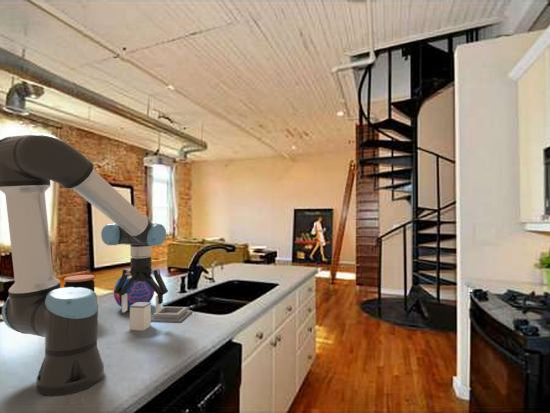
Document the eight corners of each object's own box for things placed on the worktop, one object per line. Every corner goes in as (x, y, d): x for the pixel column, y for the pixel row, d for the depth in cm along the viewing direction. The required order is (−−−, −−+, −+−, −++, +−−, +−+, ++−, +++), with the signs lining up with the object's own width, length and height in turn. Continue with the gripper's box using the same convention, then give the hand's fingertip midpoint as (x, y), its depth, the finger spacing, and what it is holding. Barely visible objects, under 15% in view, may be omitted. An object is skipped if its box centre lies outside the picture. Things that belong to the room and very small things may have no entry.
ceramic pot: (147, 300, 165) (147, 270, 166) (159, 308, 151) (160, 275, 152) (109, 306, 154) (109, 274, 155) (119, 316, 140) (119, 280, 141)
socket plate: (180, 322, 132) (180, 316, 132) (146, 321, 134) (146, 315, 134) (192, 312, 146) (192, 306, 146) (161, 311, 147) (161, 305, 148)
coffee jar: (56, 324, 130) (57, 278, 130) (80, 316, 140) (80, 274, 140) (77, 327, 126) (78, 280, 127) (100, 319, 137) (100, 275, 137)
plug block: (143, 330, 123) (144, 306, 124) (129, 329, 124) (129, 305, 124) (150, 325, 129) (150, 302, 129) (137, 324, 130) (137, 301, 130)
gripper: (176, 255, 130) (176, 309, 130) (116, 255, 132) (116, 308, 132) (168, 258, 122) (168, 315, 122) (104, 258, 124) (104, 314, 124)
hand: (141, 311), depth 127 cm, fingers open, 13 cm apart
